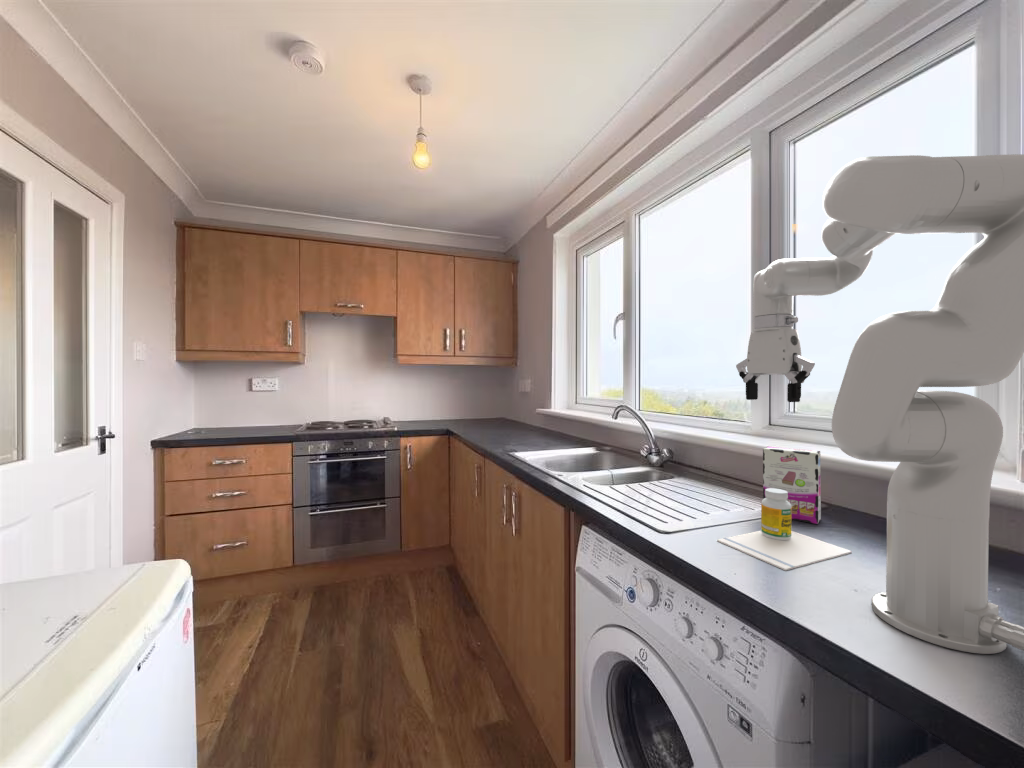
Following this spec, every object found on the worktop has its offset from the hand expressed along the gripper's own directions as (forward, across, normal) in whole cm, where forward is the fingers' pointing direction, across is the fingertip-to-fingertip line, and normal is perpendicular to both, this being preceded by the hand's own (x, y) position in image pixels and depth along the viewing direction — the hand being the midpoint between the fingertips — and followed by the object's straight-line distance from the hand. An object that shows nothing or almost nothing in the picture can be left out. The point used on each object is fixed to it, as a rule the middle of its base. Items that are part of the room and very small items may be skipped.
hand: (771, 400), depth 92 cm
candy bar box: (+29, +2, -10) cm, 31 cm away
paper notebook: (+28, -9, +9) cm, 31 cm away
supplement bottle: (+28, -5, +6) cm, 29 cm away
